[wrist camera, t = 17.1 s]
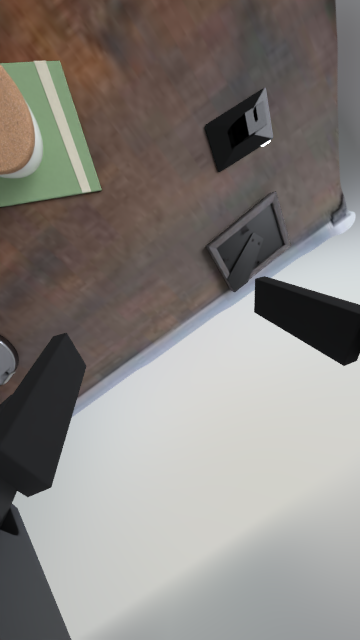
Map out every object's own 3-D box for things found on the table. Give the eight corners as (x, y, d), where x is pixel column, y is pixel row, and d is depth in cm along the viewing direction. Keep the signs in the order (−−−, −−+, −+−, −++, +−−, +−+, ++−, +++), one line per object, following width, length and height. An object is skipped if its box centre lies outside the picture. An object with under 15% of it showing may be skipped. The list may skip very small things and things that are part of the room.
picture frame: (230, 290, 46) (286, 245, 45) (234, 292, 44) (292, 246, 43) (205, 246, 39) (270, 192, 38) (209, 246, 37) (277, 190, 36)
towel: (-30, 212, 27) (-33, 211, 26) (-121, 73, 20) (-128, 68, 20) (101, 190, 30) (101, 189, 30) (60, 64, 23) (59, 59, 23)
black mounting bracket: (263, 88, 30) (285, 66, 26) (271, 140, 34) (291, 128, 30) (204, 126, 30) (216, 109, 26) (218, 174, 34) (231, 166, 30)
